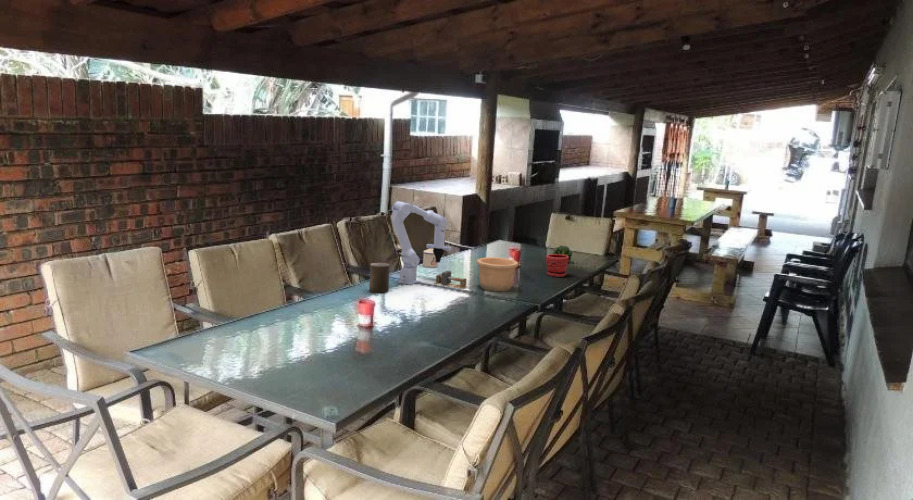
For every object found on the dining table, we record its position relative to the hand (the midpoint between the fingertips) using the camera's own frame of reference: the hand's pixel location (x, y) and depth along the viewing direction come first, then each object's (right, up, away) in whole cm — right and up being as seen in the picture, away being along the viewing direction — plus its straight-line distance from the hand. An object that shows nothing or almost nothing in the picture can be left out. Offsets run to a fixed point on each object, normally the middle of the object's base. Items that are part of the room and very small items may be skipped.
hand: (438, 262), depth 361 cm
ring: (+4, -12, -9) cm, 16 cm away
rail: (+7, -12, -10) cm, 17 cm away
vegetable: (+79, -2, +67) cm, 104 cm away
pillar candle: (-29, -14, -30) cm, 44 cm away
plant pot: (+69, -9, +29) cm, 76 cm away
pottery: (+31, -14, -9) cm, 35 cm away
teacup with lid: (-5, -3, +37) cm, 37 cm away
